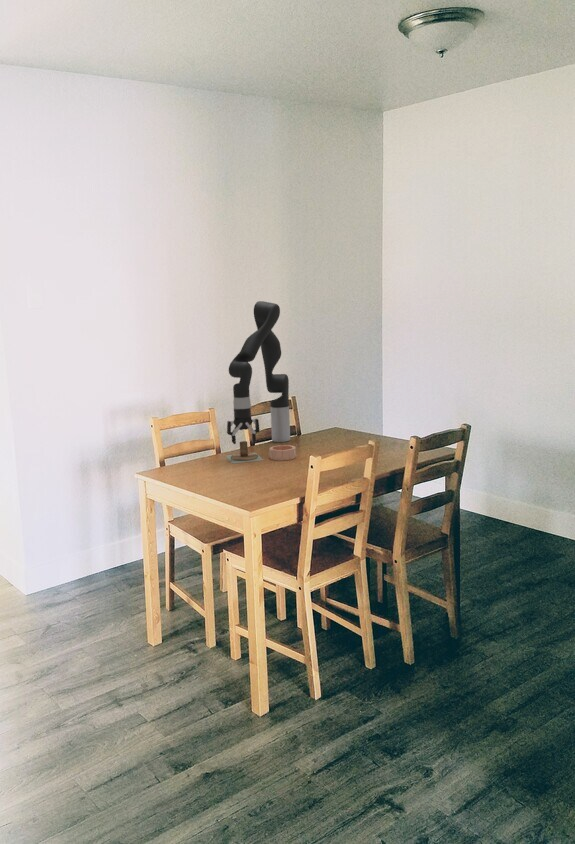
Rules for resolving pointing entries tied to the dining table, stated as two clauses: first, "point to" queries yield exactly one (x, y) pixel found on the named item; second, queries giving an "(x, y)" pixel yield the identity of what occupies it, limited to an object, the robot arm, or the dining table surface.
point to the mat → (243, 461)
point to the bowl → (282, 452)
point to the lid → (244, 453)
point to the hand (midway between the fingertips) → (243, 442)
